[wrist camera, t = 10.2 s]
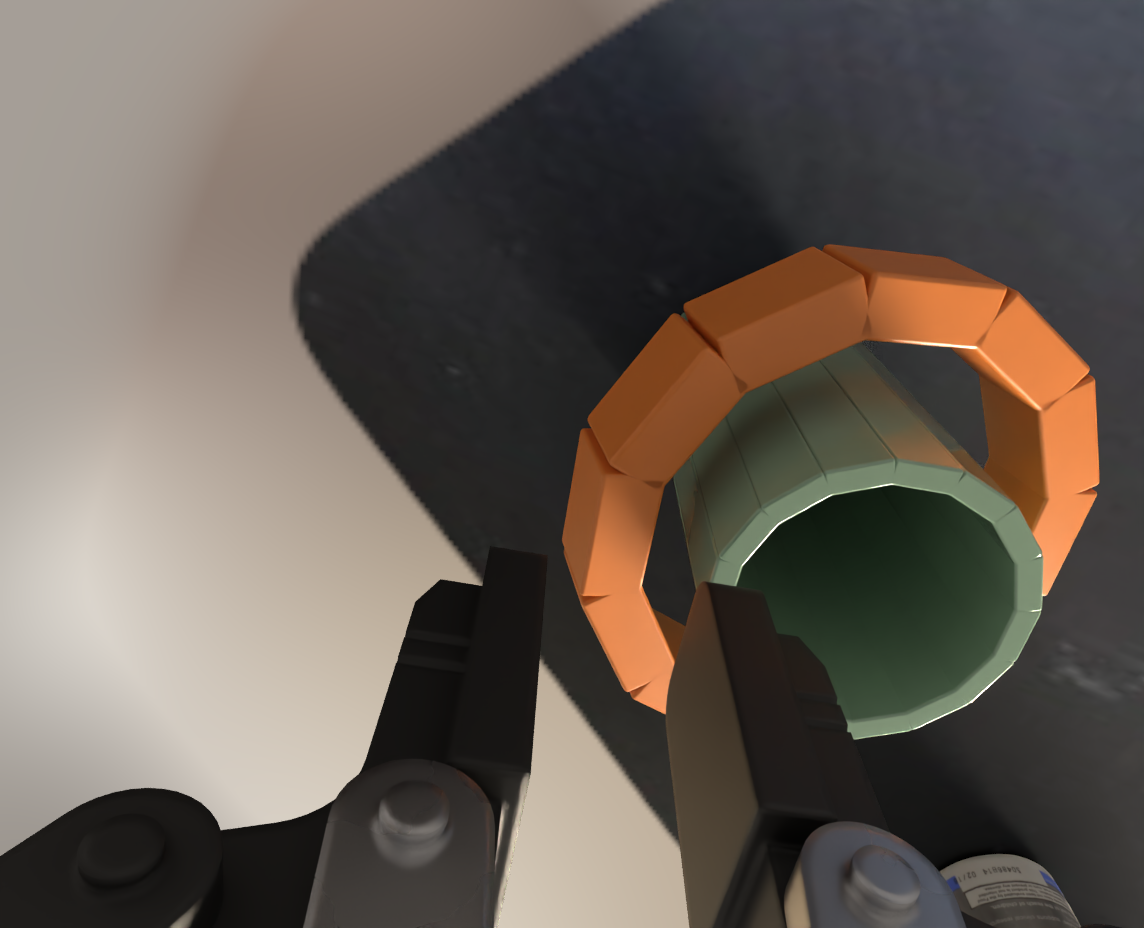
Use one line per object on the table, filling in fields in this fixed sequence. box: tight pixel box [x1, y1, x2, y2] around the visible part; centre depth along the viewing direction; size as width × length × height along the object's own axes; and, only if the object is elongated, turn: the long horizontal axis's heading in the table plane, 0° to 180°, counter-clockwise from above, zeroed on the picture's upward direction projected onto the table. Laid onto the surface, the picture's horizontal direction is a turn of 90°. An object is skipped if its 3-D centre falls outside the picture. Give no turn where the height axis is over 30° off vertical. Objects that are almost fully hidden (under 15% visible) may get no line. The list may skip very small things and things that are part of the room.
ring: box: [562, 244, 1100, 714], centre depth 14 cm, size 9×9×2 cm
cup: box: [672, 312, 1044, 739], centre depth 17 cm, size 5×5×10 cm
